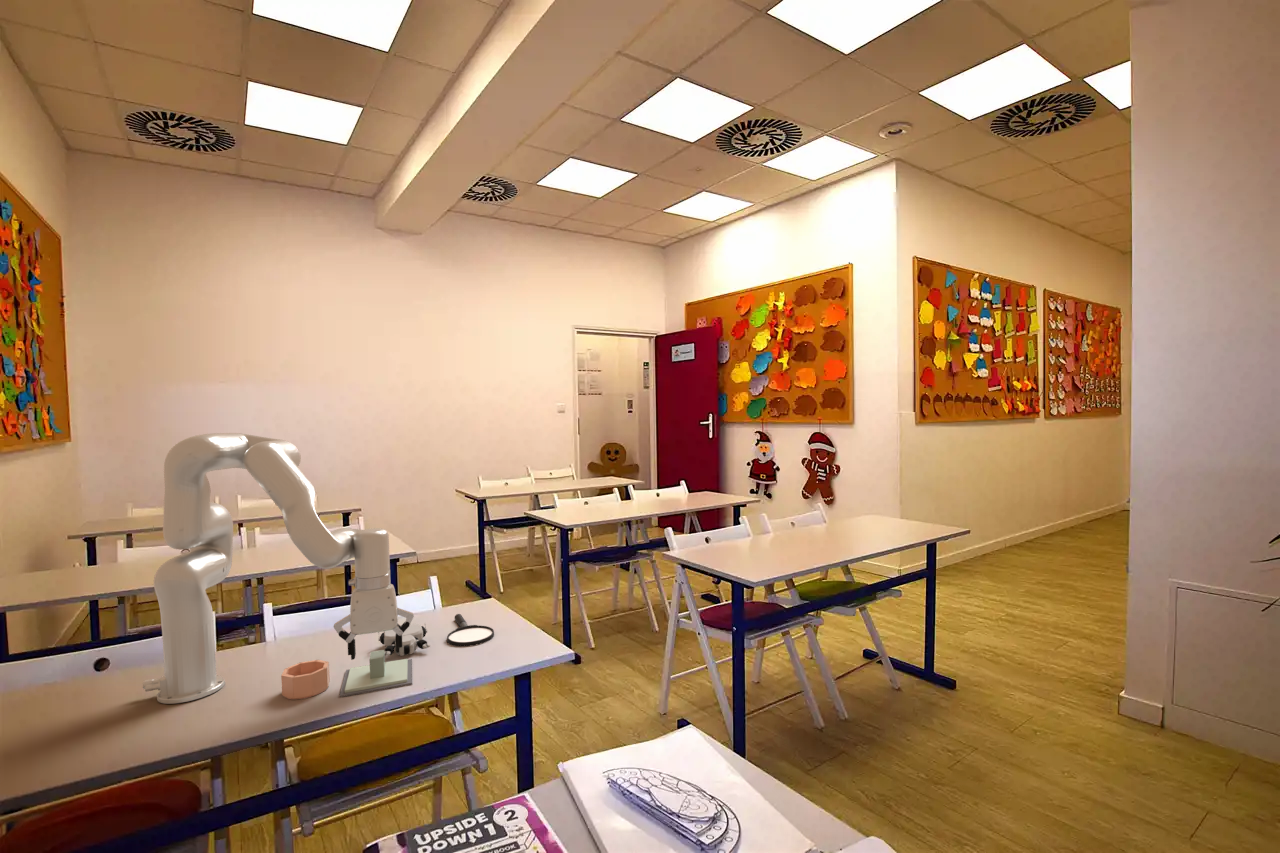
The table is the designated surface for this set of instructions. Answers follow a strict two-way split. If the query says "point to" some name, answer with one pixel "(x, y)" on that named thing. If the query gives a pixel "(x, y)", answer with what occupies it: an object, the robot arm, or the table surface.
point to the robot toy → (405, 640)
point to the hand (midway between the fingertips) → (375, 654)
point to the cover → (377, 673)
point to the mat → (409, 682)
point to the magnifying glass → (469, 633)
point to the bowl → (305, 679)
